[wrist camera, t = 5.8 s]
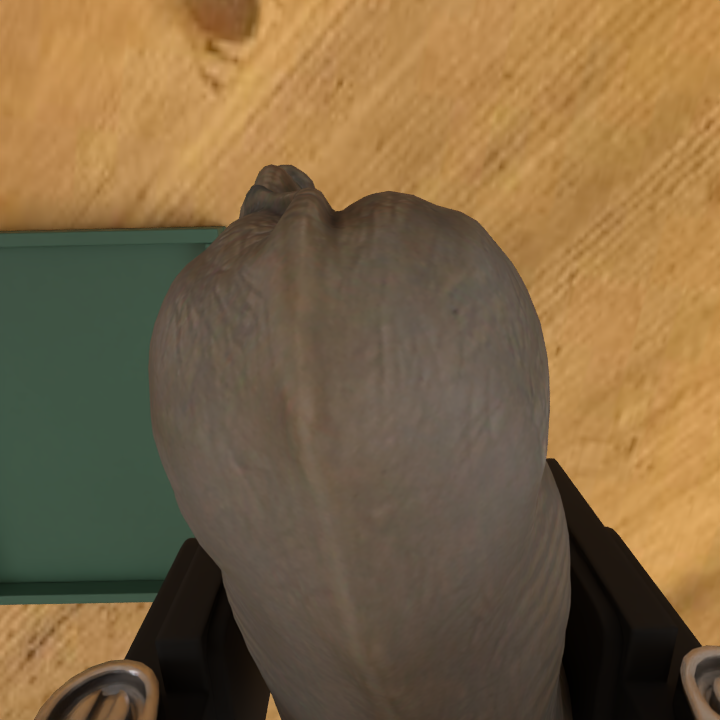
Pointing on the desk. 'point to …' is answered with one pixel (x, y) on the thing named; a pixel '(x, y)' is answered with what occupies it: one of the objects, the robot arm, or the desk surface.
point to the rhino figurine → (369, 456)
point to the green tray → (85, 414)
